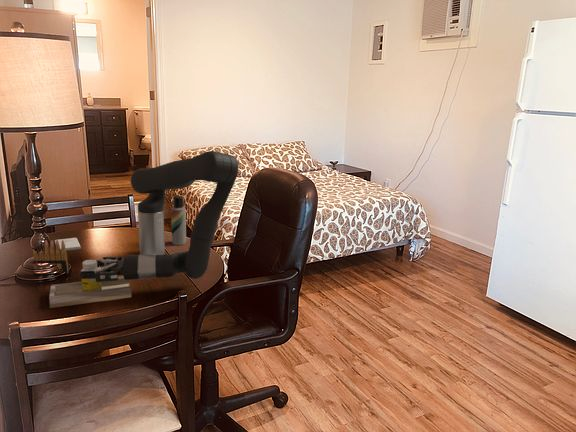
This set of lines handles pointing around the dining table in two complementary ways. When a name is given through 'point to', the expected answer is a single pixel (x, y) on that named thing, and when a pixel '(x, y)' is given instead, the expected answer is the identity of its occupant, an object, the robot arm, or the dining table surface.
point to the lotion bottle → (178, 221)
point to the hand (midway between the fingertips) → (83, 269)
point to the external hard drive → (70, 243)
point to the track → (88, 293)
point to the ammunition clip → (53, 255)
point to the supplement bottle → (90, 283)
